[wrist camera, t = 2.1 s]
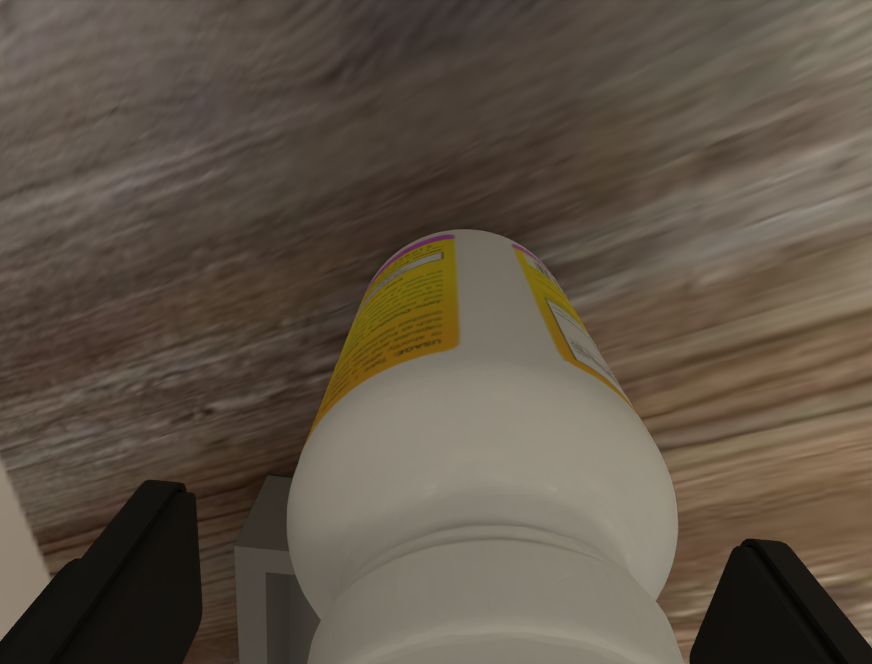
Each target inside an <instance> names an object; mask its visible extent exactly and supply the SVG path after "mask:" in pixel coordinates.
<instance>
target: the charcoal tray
mask: <svg viewBox="0 0 872 664" xmlns="http://www.w3.org/2000/svg"><path fill="white" fill-rule="evenodd" d="M292 480H293V478H290V477H280V476H271V475H267V477H266V479H265V481H264V483H263V485H262V488H261V490H260V492H259V494H258V496H257V498H256V500H255V502H254V504H253V506H252V509H251V511H250V513H249V515H248V517H247V519H246V521H245V523H244V525H243V527H242V530H241V532H240V534H239V536H238V538H237V540H236V542H235V544H234V564H235V584H236V605H237V625H238V646H239V664H307V662H308V657H309V652H310V648H311V643H312V640H313V637H314V634H315V632H316V630H317V628H318V626H319V623H320V621H321V619H320V618H319V617H318V615H317V614H316V613H315V611H314V610H313V608H312V606H311V605H310V603H309V602H308V600H307V598H306V597H305V595H304V593H303V591H302V589H301V587H300V584H299V582H298V580H297V577H296V575H295V572H294V569H293V565H292V561H291V558H290V554H289V547H288V540H287V504H288V498H289V492H290V487H291V483H292Z"/></svg>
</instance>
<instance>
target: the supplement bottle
mask: <svg viewBox="0 0 872 664" xmlns="http://www.w3.org/2000/svg"><path fill="white" fill-rule="evenodd" d="M677 536H678V514H677V504H676V498H675V492H674V488H673V484H672V479H671V477H670V474H669V472H668V469H667V466H666V464H665V461H664V459H663V457H662V455H661V453H660V451H659V449H658V447H657V445H656V444H655V442H654V440H653V439H652V437H651V435H650V433H649V431H648V430H647V428H646V426H645V425H644V423H643V421H642V420H641V418H640V417H639V415H638V414H637V412H636V411H635V409H634V408H633V406H632V404H631V402H630V401H629V399H628V397H627V396H626V395H625V393H624V392H623V390H622V388H621V386H620V385H619V383H618V381H617V380H616V378H615V376H614V375H613V373H612V372H611V370H610V368H609V367H608V365H607V363H606V362H605V360H604V359H603V357H602V355H601V354H600V352H599V350H598V348H597V347H596V345H595V343H594V342H593V340H592V338H591V337H590V335H589V333H588V332H587V330H586V328H585V327H584V325H583V323H582V322H581V320H580V318H579V316H578V314H577V313H576V312H575V310H574V308H573V307H572V305H571V303H570V302H569V300H568V298H567V297H566V295H565V293H564V292H563V290H562V289H561V287H560V285H559V284H558V282H557V281H556V279H555V278H554V277H553V275H552V274H551V273H550V271H549V270H548V269H547V267H546V266H545V265H544V264H543V263H542V262H541V261H540V260H539V259H538V258H537V257H536V256H535V255H534V254H533V253H531V252H530V251H529V250H527V249H526V248H525V247H523V246H521V245H520V244H518V243H516V242H514V241H512V240H510V239H508V238H506V237H503V236H501V235H498V234H494V233H490V232H486V231H481V230H470V229H457V230H448V231H443V232H437V233H434V234H430V235H428V236H425V237H422V238H420V239H418V240H416V241H414V242H412V243H410V244H408V245H406V246H405V247H403V248H402V249H400V250H399V251H398V252H396V253H395V254H394V255H393V256H392V257H391V258H389V259H388V260H387V261H386V263H385V264H384V265H383V266H382V267H381V268H380V269H379V271H378V272H377V273H376V275H375V276H374V277H373V279H372V281H371V282H370V284H369V286H368V288H367V290H366V292H365V294H364V297H363V299H362V301H361V304H360V306H359V309H358V311H357V314H356V316H355V319H354V321H353V324H352V326H351V329H350V331H349V334H348V336H347V339H346V342H345V344H344V347H343V349H342V352H341V354H340V357H339V359H338V362H337V364H336V366H335V369H334V372H333V374H332V376H331V379H330V382H329V385H328V387H327V390H326V392H325V395H324V398H323V400H322V403H321V405H320V408H319V410H318V413H317V415H316V418H315V420H314V423H313V425H312V428H311V430H310V433H309V435H308V438H307V440H306V443H305V445H304V448H303V450H302V452H301V456H300V459H299V462H298V465H297V468H296V471H295V473H294V476H293V480H292V483H291V487H290V492H289V498H288V504H287V540H288V547H289V554H290V558H291V561H292V565H293V569H294V572H295V575H296V577H297V580H298V582H299V584H300V587H301V589H302V591H303V593H304V595H305V597H306V598H307V600H308V602H309V603H310V605H311V606H312V608H313V610H314V611H315V613H316V614H317V615H318V617H319V618H320V619H321V621H320V623H319V626H318V628H317V630H316V632H315V634H314V637H313V640H312V643H311V648H310V652H309V657H308V662H307V664H684V662H683V659H682V656H681V653H680V650H679V647H678V644H677V641H676V638H675V635H674V632H673V629H672V627H671V625H670V623H669V621H668V619H667V617H666V615H665V613H664V612H663V611H662V609H661V608H660V606H659V605H658V604H657V602H656V600H657V598H658V596H659V594H660V593H661V591H662V589H663V587H664V585H665V583H666V581H667V578H668V576H669V573H670V570H671V567H672V564H673V561H674V556H675V551H676V545H677Z"/></svg>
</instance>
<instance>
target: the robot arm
mask: <svg viewBox="0 0 872 664" xmlns="http://www.w3.org/2000/svg"><path fill="white" fill-rule="evenodd" d="M201 617H202V591H201V575H200V559H199V543H198V527H197V511H196V498H195V495H194V493H189V492H186V487H185V485H184V484H183V483H179V482H169V481H158V480H147V481H145V482H144V483H142V484H141V485H140V487H139V488H138V489H137V490H136V492H135V493H134V494H133V495H132V497H131V498H130V499H129V500H128V501H127V503H126V504H125V505H124V506H123V508H122V509H121V510H120V511H119V513H118V514H117V515H116V516H115V517H114V519H113V520H112V521H111V522H110V524H109V525H108V526H107V527H106V528H105V530H104V531H103V532H102V533H101V535H100V536H99V537H98V538H97V540H96V541H95V542H94V543H93V544H92V546H91V547H90V548H89V549H88V551H87V552H86V553H85V554H84V556H83V557H82V558H81V559H74V560H72V561H70V562H68V563H67V564H66V565H65V566H64V567H63V568H62V569H61V570H60V571H59V572H58V573H57V574H56V576H55V577H54V578H53V579H52V580H51V582H50V583H49V584H48V585H47V586H46V588H45V589H44V590H43V591H42V592H41V594H40V595H39V596H38V597H37V598H36V600H35V601H34V602H33V603H32V604H31V605H30V607H29V608H28V609H27V610H26V611H25V613H24V614H23V615H22V616H21V617H20V619H19V620H18V621H17V622H16V623H15V625H14V626H13V627H12V628H11V629H10V631H9V632H8V633H7V634H6V635H5V636H4V638H3V639H2V640H1V641H0V664H182V663H183V661H184V659H185V656H186V654H187V652H188V650H189V648H190V646H191V644H192V642H193V640H194V637H195V635H196V633H197V631H198V628H199V625H200V621H201ZM689 661H690V664H872V648H871V646H870V645H869V644H868V643H867V642H866V640H865V639H864V638H863V637H862V635H861V634H860V633H859V632H858V630H857V629H856V628H855V627H854V626H853V624H852V623H851V622H850V621H849V619H848V618H847V617H846V616H845V614H844V613H843V612H842V611H841V610H840V608H839V607H838V606H837V605H836V603H835V602H834V601H833V600H832V598H831V597H830V596H829V595H828V594H827V592H826V591H825V590H824V589H823V587H822V586H821V585H820V584H819V582H818V581H817V580H816V579H815V578H814V576H813V575H812V574H811V573H810V571H809V570H808V569H807V568H806V566H805V565H804V564H803V563H802V562H801V560H800V559H799V558H798V557H797V555H796V554H795V553H794V552H793V550H792V549H791V548H790V547H789V546H788V545H787V544H785V543H783V542H780V541H770V540H760V539H746V540H744V541H743V542H742V544H741V545H740V546H736V547H735V548H734V549H733V550H732V552H731V554H730V557H729V559H728V562H727V564H726V567H725V569H724V571H723V574H722V576H721V579H720V581H719V584H718V586H717V588H716V591H715V593H714V596H713V598H712V601H711V603H710V605H709V608H708V610H707V613H706V615H705V618H704V620H703V623H702V625H701V627H700V630H699V632H698V635H697V637H696V640H695V642H694V644H693V647H692V649H691V652H690V660H689Z"/></svg>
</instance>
